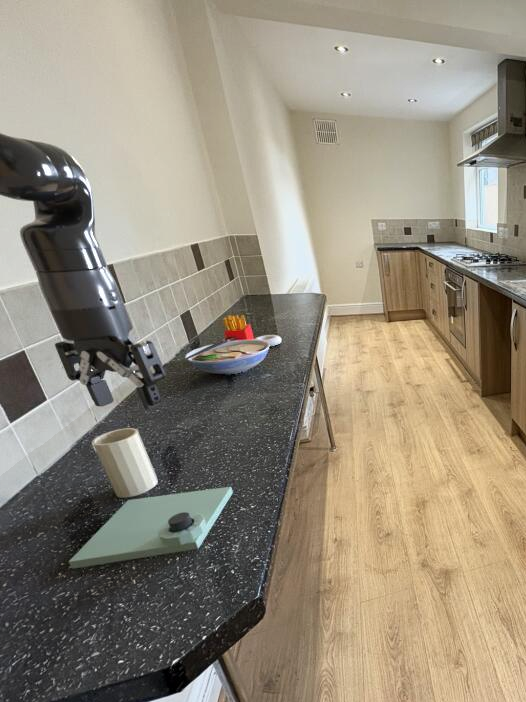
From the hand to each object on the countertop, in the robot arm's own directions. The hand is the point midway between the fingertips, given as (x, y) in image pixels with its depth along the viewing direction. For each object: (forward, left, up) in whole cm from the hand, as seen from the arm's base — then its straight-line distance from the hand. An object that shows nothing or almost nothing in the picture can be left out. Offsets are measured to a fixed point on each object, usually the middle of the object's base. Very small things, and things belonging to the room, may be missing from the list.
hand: (129, 405), depth 64 cm
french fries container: (-17, +90, -20) cm, 93 cm away
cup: (-9, +8, -20) cm, 23 cm away
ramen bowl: (-14, +72, -20) cm, 76 cm away
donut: (-12, +100, -20) cm, 102 cm away
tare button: (+7, -10, -17) cm, 21 cm away
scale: (+1, -5, -20) cm, 20 cm away
